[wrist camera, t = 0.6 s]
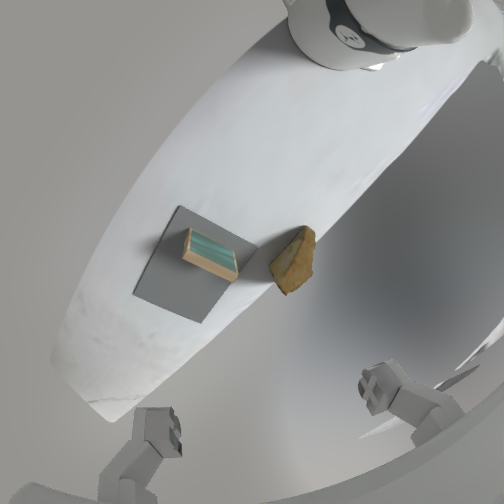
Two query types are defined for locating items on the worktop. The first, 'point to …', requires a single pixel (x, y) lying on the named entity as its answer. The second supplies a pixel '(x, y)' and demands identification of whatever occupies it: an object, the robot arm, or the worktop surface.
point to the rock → (294, 262)
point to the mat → (188, 269)
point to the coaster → (210, 255)
